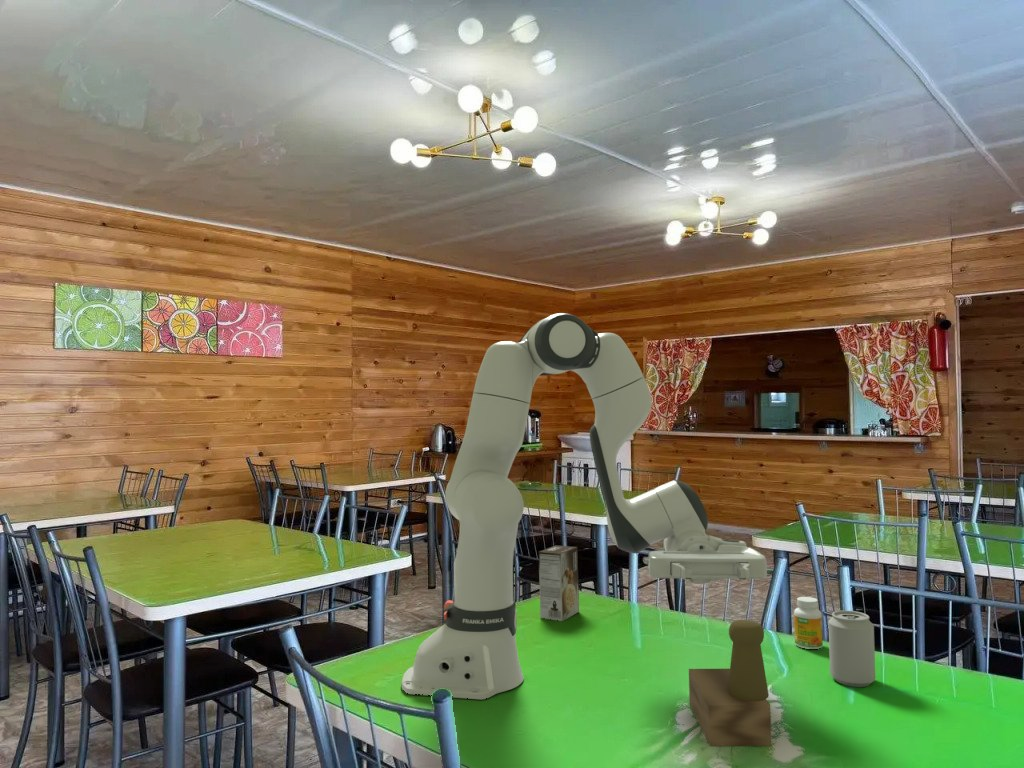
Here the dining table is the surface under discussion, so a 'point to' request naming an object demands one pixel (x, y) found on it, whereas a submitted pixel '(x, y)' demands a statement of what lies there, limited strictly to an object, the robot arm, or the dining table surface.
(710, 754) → the dining table surface
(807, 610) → the supplement bottle
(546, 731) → the dining table surface
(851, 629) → the can
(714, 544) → the robot arm
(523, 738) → the dining table surface
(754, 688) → the cork
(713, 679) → the walnut block
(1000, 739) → the dining table surface
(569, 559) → the coffee box
